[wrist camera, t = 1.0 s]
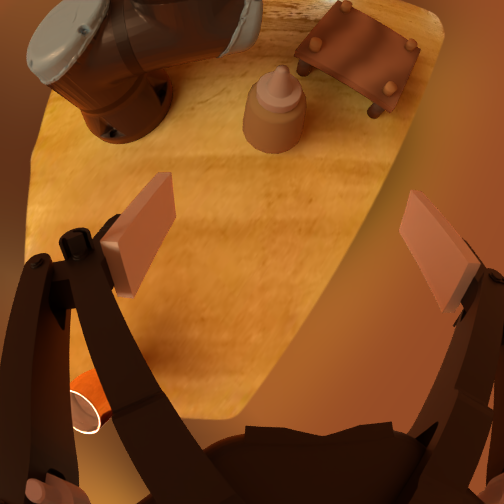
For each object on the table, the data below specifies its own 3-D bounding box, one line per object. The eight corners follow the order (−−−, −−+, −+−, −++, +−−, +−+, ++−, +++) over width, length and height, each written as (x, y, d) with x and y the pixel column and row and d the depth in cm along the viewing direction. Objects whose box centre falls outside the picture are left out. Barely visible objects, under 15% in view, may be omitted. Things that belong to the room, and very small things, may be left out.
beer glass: (138, 351, 42) (95, 394, 27) (144, 390, 42) (107, 440, 27) (101, 347, 42) (50, 383, 27) (107, 384, 42) (63, 428, 27)
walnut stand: (290, 73, 41) (297, 42, 32) (330, 21, 40) (340, -7, 32) (377, 124, 41) (399, 103, 32) (405, 66, 41) (426, 43, 32)
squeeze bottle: (247, 165, 41) (245, 112, 23) (239, 115, 41) (232, 43, 23) (303, 157, 41) (336, 103, 23) (292, 108, 41) (314, 37, 23)
